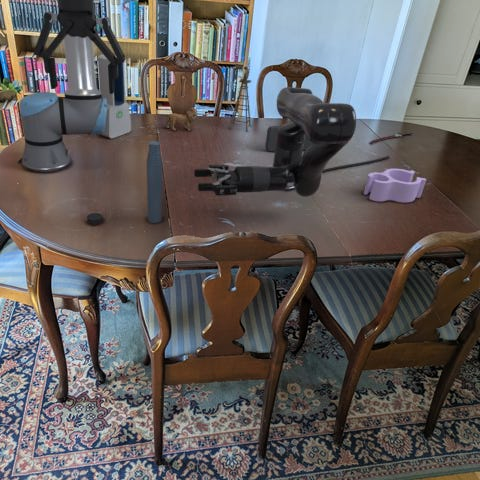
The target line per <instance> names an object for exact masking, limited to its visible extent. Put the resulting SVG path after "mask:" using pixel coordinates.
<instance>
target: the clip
mask: <svg viewBox="0 0 480 480" xmlns="http://www.w3.org/2000/svg"><path fill="white" fill-rule="evenodd" d="M415 173H416V171H415V170H412V169H411V170H407V169H402V168H388V169H385V171H382V172H375V171H374V172H370V173H368V175H367V178H366V181H365V186H364V189H363V192H362V193H363V195H366V196H367V195H368V194H369V193H370V194H369V197H368V198H369V200H370V201H375V202H386V201H392V202H397V203H412V202H414V201H415V200H416V198H417V199H420V198H421V197H422V194H423V191H424V188H425V185H426V183H427V178H424V177H419V176H417V177H416V178H415V180H414V181H413V179H414V175H415Z"/></svg>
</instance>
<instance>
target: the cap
mask: <svg viewBox="0 0 480 480" xmlns="http://www.w3.org/2000/svg"><path fill="white" fill-rule="evenodd" d="M86 219H87V223H88V224H89V225H90V226H99V225H101V224H102V223H103V215H102V214H101V213H100V212H92V213H89V214H87V216H86Z"/></svg>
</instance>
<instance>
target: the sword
mask: <svg viewBox="0 0 480 480" xmlns="http://www.w3.org/2000/svg"><path fill="white" fill-rule="evenodd" d="M412 134H414V132H413V133H410V134H409V135H412ZM406 135H408V134H402V132H398V133H397V134H396V133H395V134H392V135H389V136H383V137H379V138H377V139H373V140H371V141H370V145H372V144H374V143H377V142H381V141H384V140H389V139H393V138H398V137H403V136H406Z"/></svg>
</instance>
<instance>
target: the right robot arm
mask: <svg viewBox="0 0 480 480" xmlns="http://www.w3.org/2000/svg"><path fill="white" fill-rule="evenodd" d="M276 110H277V113H278V114H279V116H280V117H282V118H287V119H289V121H291V122H288V123H285V124H281V125H282V126H280V125H279V126H280V127H279V129H278V133H277V140H276V147H275V151H274V155H273V161H272V166H263V165H262V166H260V165H240V166H235V167H234V170H229V168H230V167H229V165H227V164H209V165H208V167H207V168H195V169H194V171H193V173H194V174H193V175H194V177H195V178H210V179H213V181H215V182H199V183H198V185H197V190H198V192H211V193H215V194H214V195H215V196H217V197H219V196H220V197H221V196H235V195H237V193H263V192H281V191H291V190H294V191H295V193H296V194H297V195H298V196H300V197H303V198H306V197H311V196H313V195H315V194H316V193H317V192H318V190H319V188H320V186H321V182H322V173H325V172H331V171H334V170H338V169H346V168H351V167H356V166H362V165H368V164H372V163H377V162H381V161H384V160H386V159H390V155H387V156H383V157H379V158H375V159H371V160H367V161H361V162H356V163H349V164H344V165H343V164H342V165H338V166H333V167H328V168H326V167H327V165H328V163H329V162H330V161H331V159H333V157H335V156H336V155H337V154H338V153H339V152H340V151H341V150H342V149H343V148H344V147H345V146H346V145H347V144H348V143H349V142H350V141H351V140H352V138H353V137H354V135H355V132H356V128H357V113H356V110H355V108H354V107H353V105H351V104H349V103H344V102H343V103H342V102H333V103H331V102H330V103H329V102H326V103H325V102H324V101H323V100H322V99H321V98H320V97H319V96H317V95H315V94H313V91H312V90H311V89H310V88H305V87H292V86H291V87H290V86H285V87H283V88H281V89H280V91H279V92H278V94H277V97H276ZM305 135H306V136H307V138H308V139H309V140H310V141H311V142H313V144H312V145H310V146H309V147H308V148H307V149H306V150H303V146H304V140H305Z"/></svg>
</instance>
